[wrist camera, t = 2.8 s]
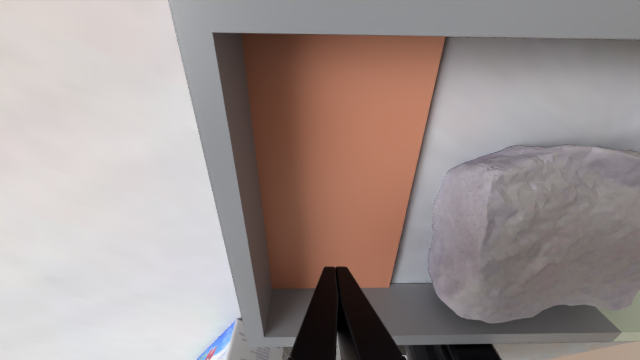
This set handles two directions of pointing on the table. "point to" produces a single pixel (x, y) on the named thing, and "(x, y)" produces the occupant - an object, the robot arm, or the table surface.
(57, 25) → the table surface
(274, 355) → the medicine box
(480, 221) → the stone block
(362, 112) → the open tray box
